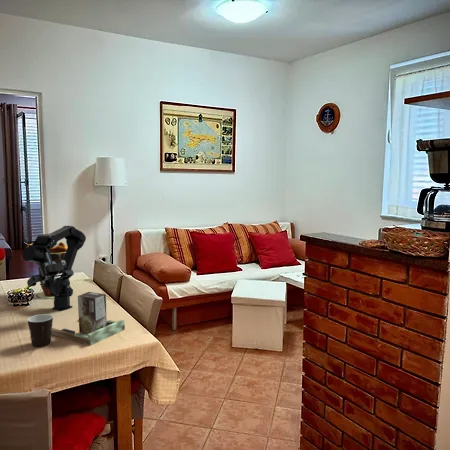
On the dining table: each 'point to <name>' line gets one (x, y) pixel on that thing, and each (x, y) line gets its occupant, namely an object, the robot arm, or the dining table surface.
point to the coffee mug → (40, 329)
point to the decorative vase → (56, 255)
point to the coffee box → (91, 312)
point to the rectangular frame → (92, 337)
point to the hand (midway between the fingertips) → (57, 295)
